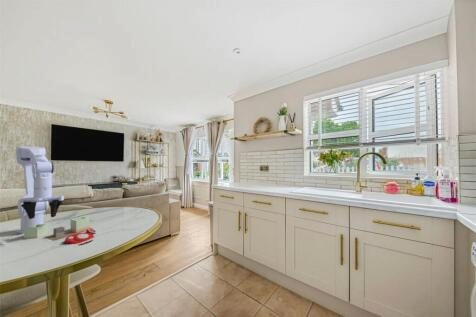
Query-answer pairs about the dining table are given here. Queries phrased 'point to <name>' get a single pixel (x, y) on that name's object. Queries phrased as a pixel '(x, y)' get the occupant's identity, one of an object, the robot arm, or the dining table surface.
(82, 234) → the tracker holder
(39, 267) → the dining table surface
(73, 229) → the seated sleeve
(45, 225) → the sleeve
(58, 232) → the pin board
